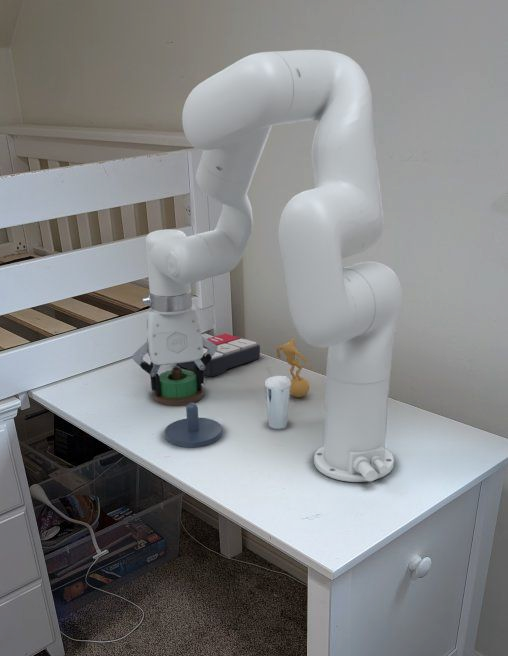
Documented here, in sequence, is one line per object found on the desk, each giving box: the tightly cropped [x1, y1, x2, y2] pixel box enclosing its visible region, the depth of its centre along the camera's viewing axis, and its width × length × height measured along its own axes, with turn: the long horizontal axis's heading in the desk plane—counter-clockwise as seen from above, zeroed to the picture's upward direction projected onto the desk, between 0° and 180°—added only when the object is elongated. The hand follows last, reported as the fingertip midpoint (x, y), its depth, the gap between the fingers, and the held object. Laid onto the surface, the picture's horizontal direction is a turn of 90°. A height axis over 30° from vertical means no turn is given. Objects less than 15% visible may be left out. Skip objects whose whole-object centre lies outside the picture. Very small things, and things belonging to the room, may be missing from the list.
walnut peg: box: [152, 365, 205, 407], centre depth 144 cm, size 10×10×6 cm
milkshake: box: [264, 366, 291, 430], centre depth 130 cm, size 4×5×10 cm
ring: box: [158, 369, 198, 398], centre depth 145 cm, size 7×7×3 cm
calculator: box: [176, 333, 261, 378], centre depth 160 cm, size 11×4×15 cm
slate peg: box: [164, 402, 223, 448], centre depth 129 cm, size 10×10×6 cm
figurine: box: [276, 338, 312, 398], centre depth 140 cm, size 8×6×12 cm
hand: (178, 389), depth 145 cm, fingers closed on ring, 7 cm apart
